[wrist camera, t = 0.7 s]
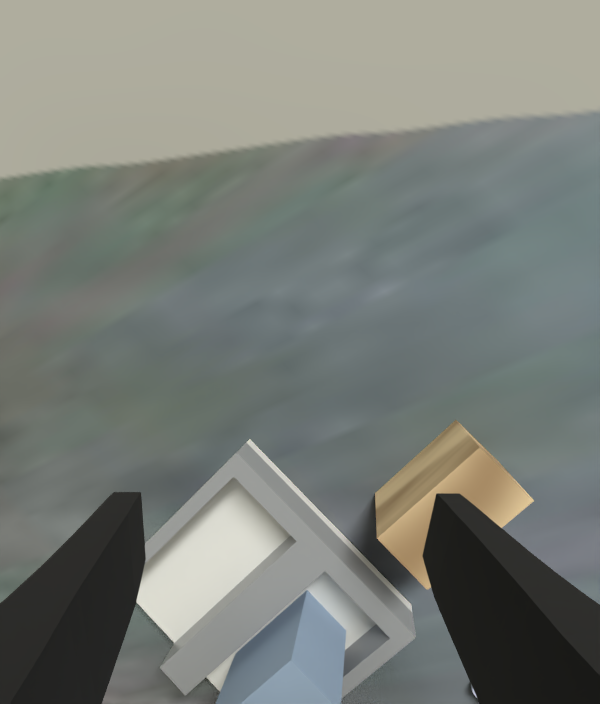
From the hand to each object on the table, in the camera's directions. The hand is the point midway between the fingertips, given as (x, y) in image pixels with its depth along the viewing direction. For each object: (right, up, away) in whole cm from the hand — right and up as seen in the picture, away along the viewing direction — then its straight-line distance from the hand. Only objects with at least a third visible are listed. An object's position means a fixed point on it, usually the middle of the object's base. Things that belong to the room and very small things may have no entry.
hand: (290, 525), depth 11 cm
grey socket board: (-3, -12, +19) cm, 23 cm away
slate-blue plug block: (0, -15, +19) cm, 24 cm away
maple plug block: (+9, -4, +17) cm, 20 cm away
